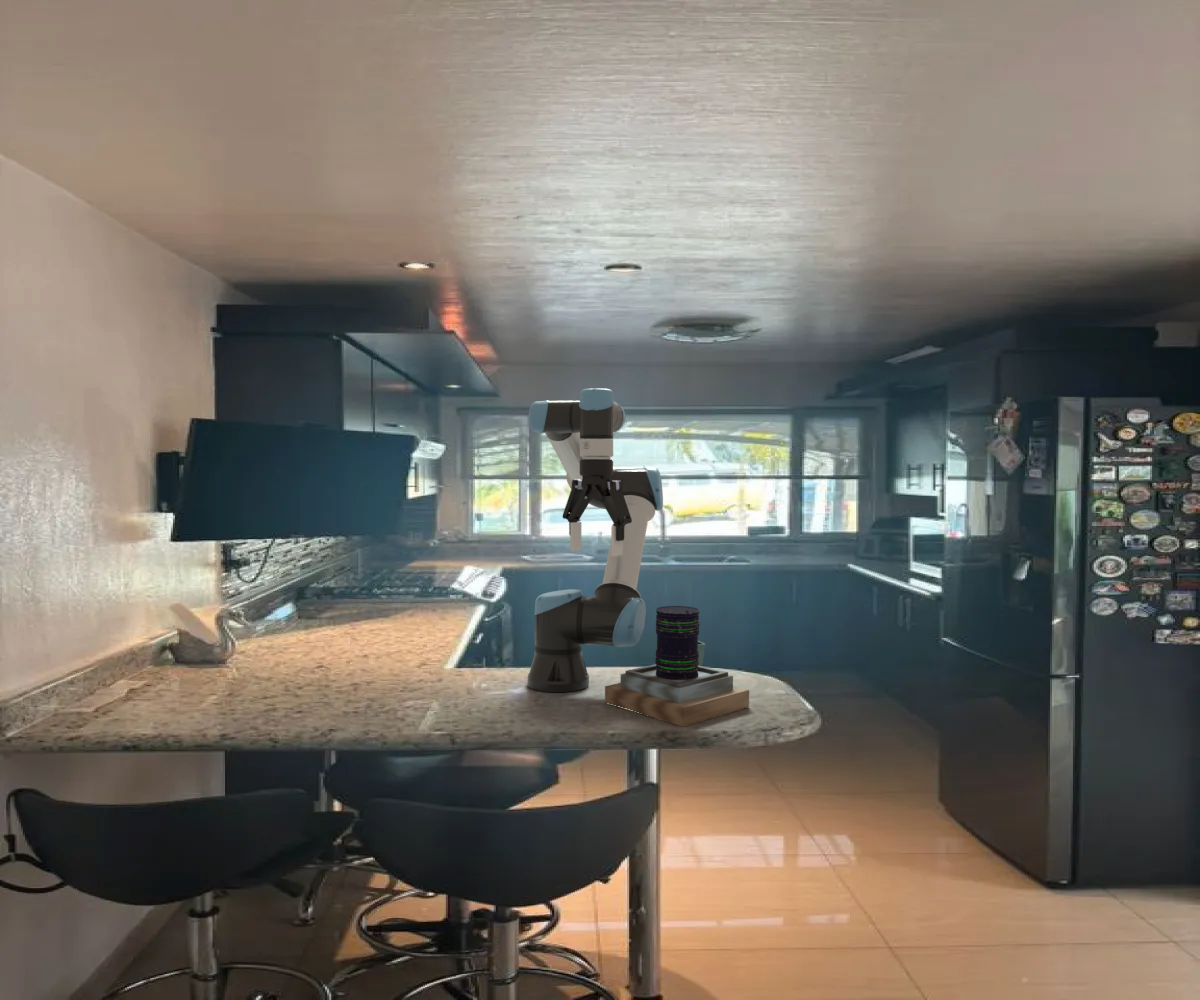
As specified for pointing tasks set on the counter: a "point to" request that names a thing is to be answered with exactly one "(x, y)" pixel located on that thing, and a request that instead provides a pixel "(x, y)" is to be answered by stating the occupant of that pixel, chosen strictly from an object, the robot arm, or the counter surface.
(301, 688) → the counter surface
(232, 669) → the counter surface
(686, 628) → the dark blue cylinder
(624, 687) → the tower base
